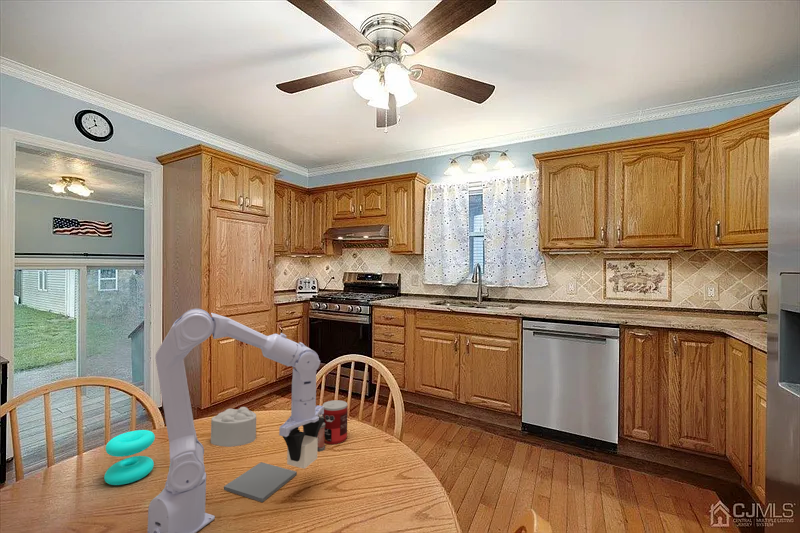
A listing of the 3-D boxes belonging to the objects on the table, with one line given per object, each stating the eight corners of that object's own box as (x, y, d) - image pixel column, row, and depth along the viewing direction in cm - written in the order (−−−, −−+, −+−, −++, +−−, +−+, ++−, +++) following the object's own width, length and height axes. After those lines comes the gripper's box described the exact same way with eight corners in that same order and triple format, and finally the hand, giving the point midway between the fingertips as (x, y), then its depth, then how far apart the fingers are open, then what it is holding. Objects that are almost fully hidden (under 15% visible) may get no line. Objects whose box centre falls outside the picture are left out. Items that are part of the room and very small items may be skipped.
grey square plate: (262, 502, 78) (262, 498, 78) (223, 489, 82) (223, 486, 82) (296, 474, 89) (296, 471, 89) (260, 465, 93) (261, 462, 93)
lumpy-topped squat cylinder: (229, 429, 115) (230, 403, 115) (263, 433, 112) (264, 407, 113) (205, 444, 105) (206, 415, 105) (242, 449, 102) (243, 419, 103)
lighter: (299, 446, 104) (300, 413, 104) (307, 441, 107) (307, 409, 107) (319, 452, 100) (320, 418, 101) (327, 447, 103) (328, 414, 104)
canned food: (319, 436, 111) (320, 402, 111) (343, 431, 114) (343, 398, 115) (324, 446, 104) (325, 410, 104) (349, 441, 107) (350, 406, 108)
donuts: (97, 448, 82) (117, 430, 91) (95, 491, 81) (115, 468, 91) (146, 442, 85) (160, 426, 94) (144, 483, 84) (159, 463, 94)
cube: (304, 468, 79) (304, 446, 79) (287, 464, 81) (287, 442, 81) (317, 458, 84) (317, 437, 84) (300, 454, 86) (301, 434, 86)
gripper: (297, 410, 75) (296, 473, 74) (334, 390, 88) (333, 444, 88) (272, 405, 77) (271, 466, 77) (311, 387, 91) (310, 439, 90)
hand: (302, 454), depth 83 cm, fingers closed on cube, 5 cm apart
